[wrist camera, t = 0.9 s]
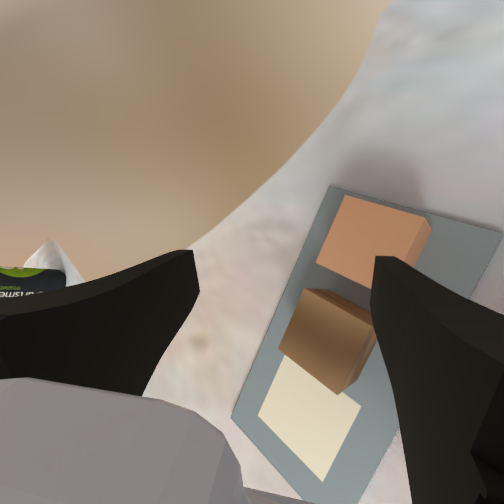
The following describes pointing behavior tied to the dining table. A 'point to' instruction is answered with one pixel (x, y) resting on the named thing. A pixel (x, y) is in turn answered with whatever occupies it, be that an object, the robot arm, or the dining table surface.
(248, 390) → the board
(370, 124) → the dining table surface
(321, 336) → the walnut block
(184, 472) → the robot arm
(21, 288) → the beverage can
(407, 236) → the terracotta block
